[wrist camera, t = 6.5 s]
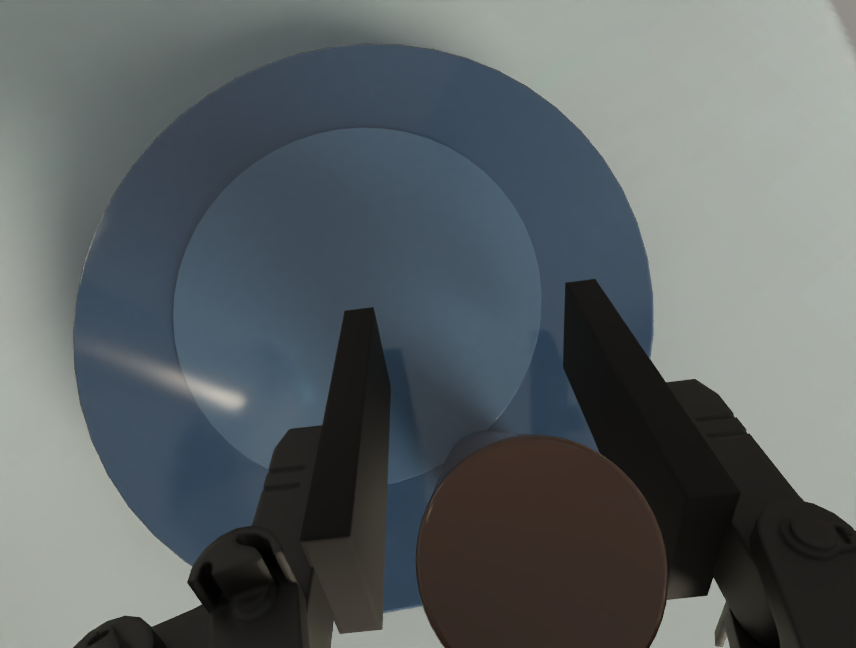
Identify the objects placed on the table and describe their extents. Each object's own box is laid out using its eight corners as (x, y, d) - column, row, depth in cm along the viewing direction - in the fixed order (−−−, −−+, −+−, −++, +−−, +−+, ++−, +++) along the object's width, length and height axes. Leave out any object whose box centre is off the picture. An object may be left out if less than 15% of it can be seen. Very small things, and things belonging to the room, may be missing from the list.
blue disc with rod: (4, 256, 18) (-627, 16, 8) (418, -24, 20) (370, -555, 9) (280, 744, 15) (-203, 1601, 4) (768, 355, 16) (1389, 208, 5)
